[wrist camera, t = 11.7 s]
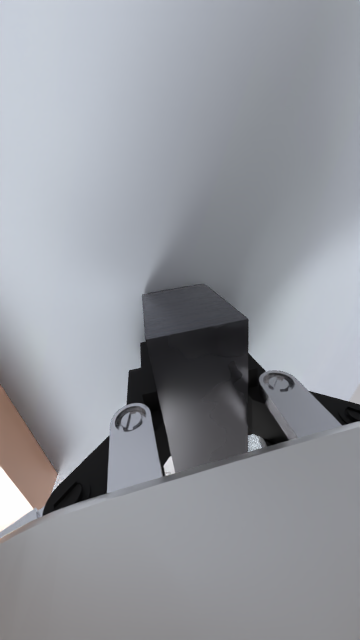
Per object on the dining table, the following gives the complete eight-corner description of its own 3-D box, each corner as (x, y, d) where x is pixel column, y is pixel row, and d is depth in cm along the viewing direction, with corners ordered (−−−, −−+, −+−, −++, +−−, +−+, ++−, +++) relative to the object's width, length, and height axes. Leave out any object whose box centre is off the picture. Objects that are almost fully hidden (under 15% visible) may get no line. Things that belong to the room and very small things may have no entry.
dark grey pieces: (98, 302, 10) (69, 354, 6) (242, 276, 10) (310, 306, 6) (164, 519, 17) (172, 607, 13) (244, 494, 18) (274, 570, 14)
